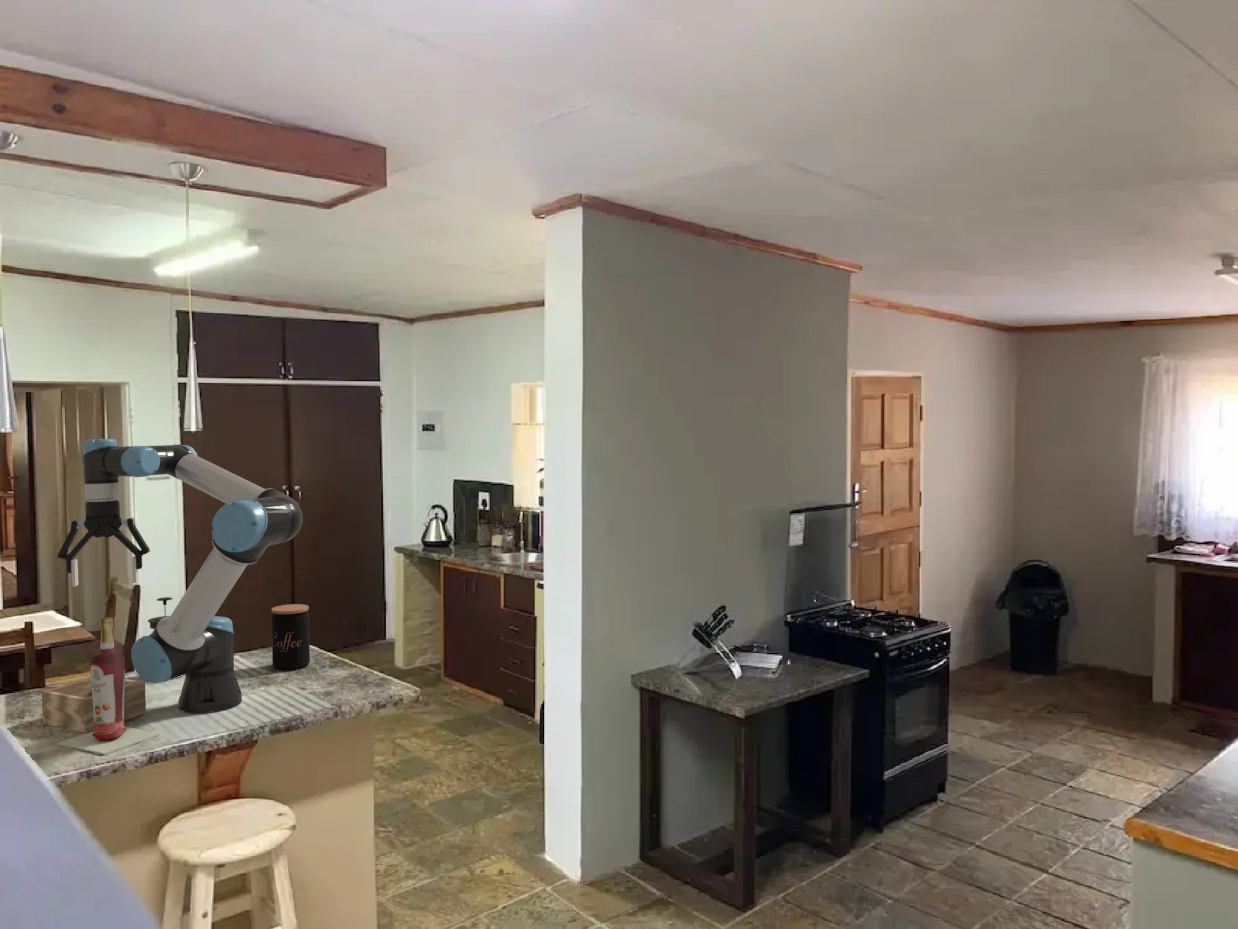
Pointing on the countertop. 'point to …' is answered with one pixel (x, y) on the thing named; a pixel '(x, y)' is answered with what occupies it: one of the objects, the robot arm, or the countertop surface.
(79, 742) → the mat
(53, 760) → the countertop surface
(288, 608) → the coffee jar
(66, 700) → the crate
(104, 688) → the liquor
